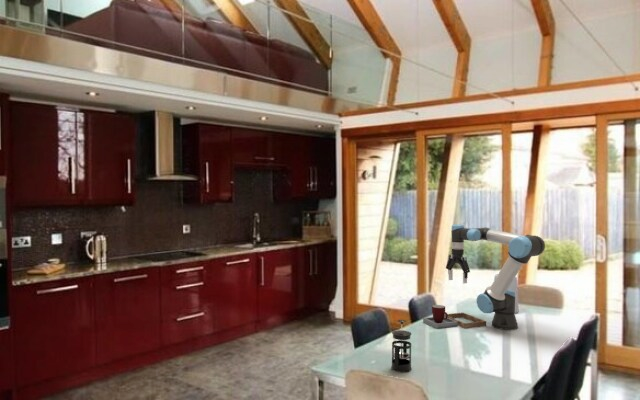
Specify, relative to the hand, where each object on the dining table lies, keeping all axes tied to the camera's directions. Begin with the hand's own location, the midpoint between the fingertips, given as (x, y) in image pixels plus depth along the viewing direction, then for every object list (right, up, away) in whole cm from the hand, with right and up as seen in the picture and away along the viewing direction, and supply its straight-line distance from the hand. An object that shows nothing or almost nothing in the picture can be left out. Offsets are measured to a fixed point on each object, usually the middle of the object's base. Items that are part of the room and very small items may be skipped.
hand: (457, 281), depth 322 cm
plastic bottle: (+39, -25, +24) cm, 52 cm away
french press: (-51, -27, -87) cm, 105 cm away
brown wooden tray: (+2, -25, -6) cm, 26 cm away
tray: (-14, -25, -11) cm, 31 cm away
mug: (-14, -24, -11) cm, 30 cm away
